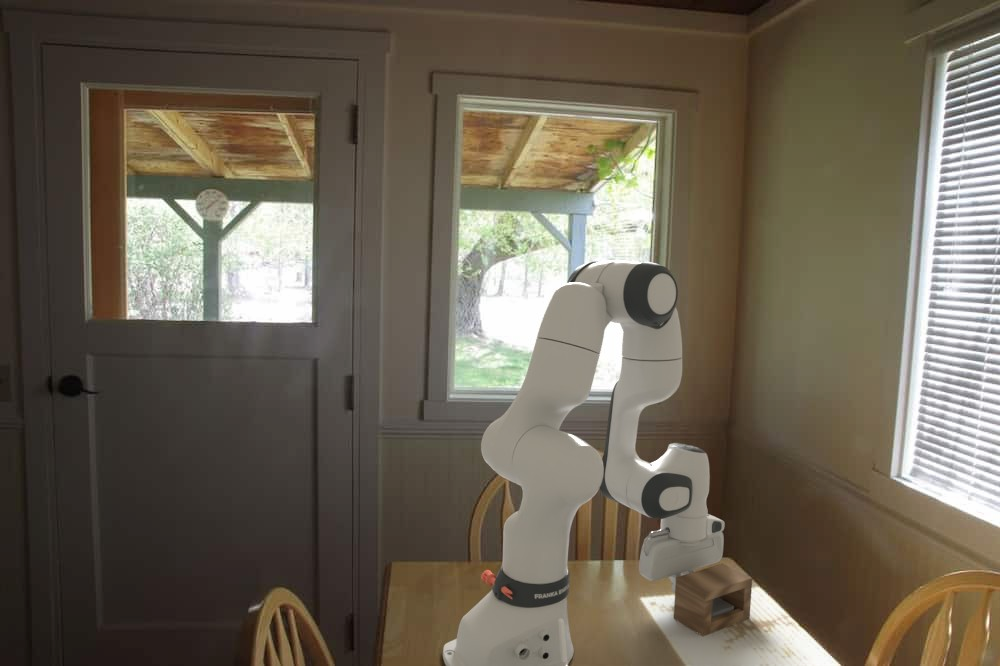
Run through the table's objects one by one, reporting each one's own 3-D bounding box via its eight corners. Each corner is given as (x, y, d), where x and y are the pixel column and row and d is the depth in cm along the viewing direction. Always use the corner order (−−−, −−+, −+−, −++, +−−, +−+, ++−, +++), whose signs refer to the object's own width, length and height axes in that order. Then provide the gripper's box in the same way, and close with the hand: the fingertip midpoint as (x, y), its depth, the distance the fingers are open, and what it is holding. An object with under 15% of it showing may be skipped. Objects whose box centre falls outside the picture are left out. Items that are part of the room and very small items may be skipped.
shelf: (702, 636, 116) (705, 593, 115) (673, 618, 122) (675, 577, 121) (749, 618, 123) (752, 577, 122) (720, 601, 129) (722, 563, 128)
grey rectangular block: (711, 629, 119) (712, 613, 119) (675, 607, 127) (676, 592, 127) (733, 621, 122) (734, 605, 122) (696, 599, 130) (697, 585, 130)
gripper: (656, 539, 120) (653, 610, 121) (730, 521, 130) (726, 586, 132) (633, 527, 125) (630, 595, 127) (706, 510, 136) (702, 573, 137)
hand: (679, 590), depth 129 cm, fingers closed
